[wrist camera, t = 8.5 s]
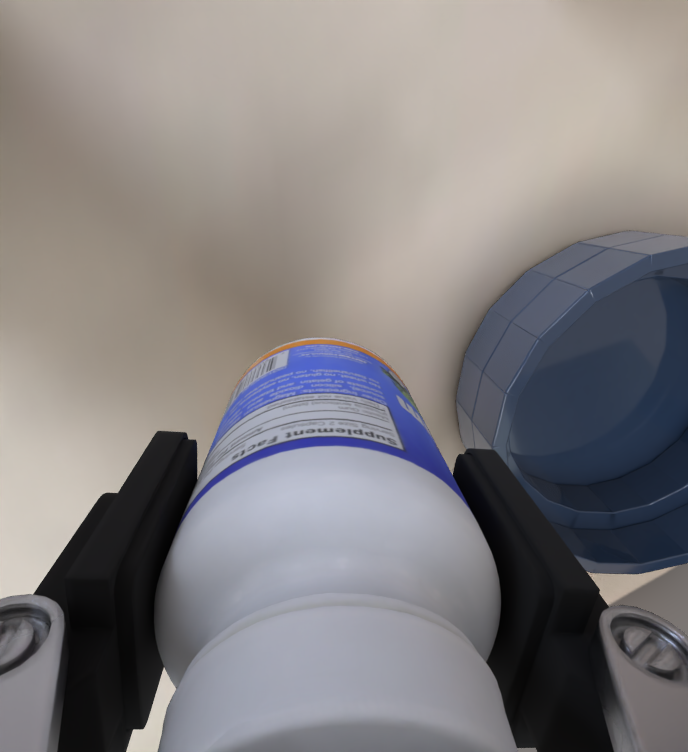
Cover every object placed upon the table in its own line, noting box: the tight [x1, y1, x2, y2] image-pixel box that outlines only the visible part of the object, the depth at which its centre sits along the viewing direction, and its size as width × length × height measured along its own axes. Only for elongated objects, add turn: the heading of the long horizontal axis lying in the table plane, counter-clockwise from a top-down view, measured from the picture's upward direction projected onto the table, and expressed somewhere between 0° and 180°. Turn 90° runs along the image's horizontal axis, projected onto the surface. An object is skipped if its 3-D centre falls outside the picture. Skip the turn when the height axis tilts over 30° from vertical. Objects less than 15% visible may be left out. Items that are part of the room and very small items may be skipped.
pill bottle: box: [154, 338, 518, 752], centre depth 9 cm, size 5×5×10 cm
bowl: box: [456, 231, 688, 574], centre depth 20 cm, size 14×14×5 cm
